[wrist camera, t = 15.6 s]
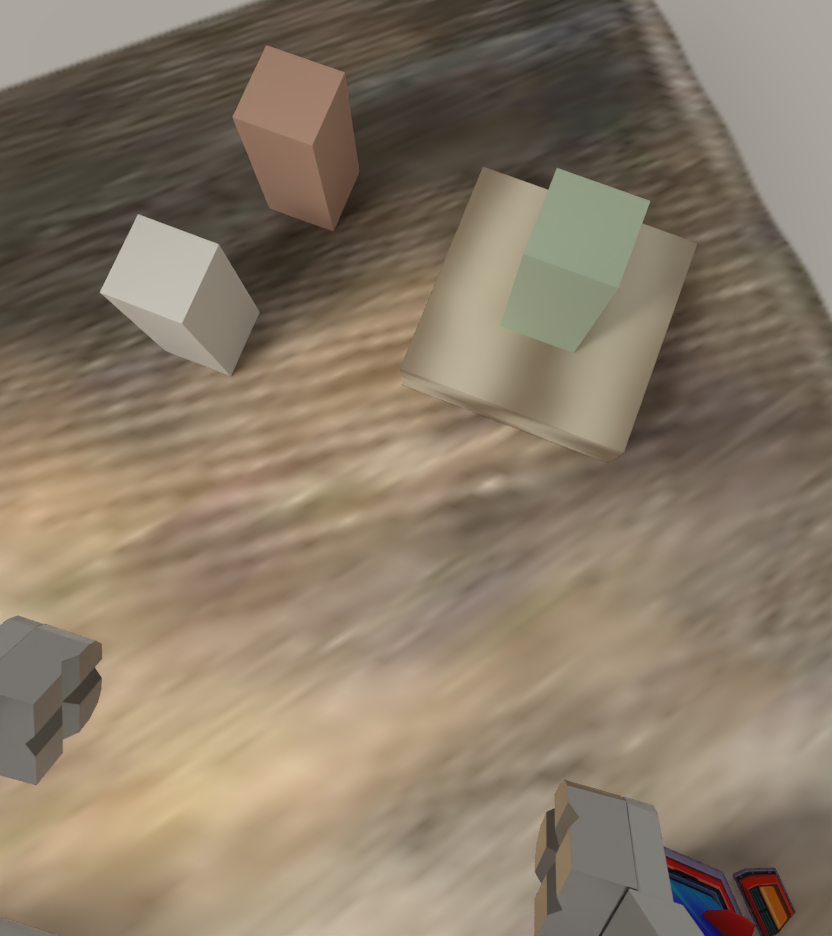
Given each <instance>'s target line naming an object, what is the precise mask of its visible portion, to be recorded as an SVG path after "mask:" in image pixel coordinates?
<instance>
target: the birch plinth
mask: <svg viewBox="0 0 832 936" xmlns="http://www.w3.org/2000/svg"><path fill="white" fill-rule="evenodd" d="M547 192H548V190H547V189H544V188H542V187H539V186H536V185H533V184H530V183H527V182H525V181H522V180H519V179H516V178H513V177H511V176H508V175H505V174H502V173H499V172H497V171H494V170H491V169H488V168H485V167H483V168H482V170H481V173H480V175H479V178H478V180H477V183H476V185H475V188H474V190H473V192H472V195H471V197H470V200H469V202H468V205H467V207H466V209H465V212H464V214H463V217H462V219H461V222H460V224H459V226H458V229H457V231H456V234H455V236H454V239H453V241H452V243H451V246H450V248H449V251H448V253H447V256H446V258H445V260H444V263H443V265H442V268H441V270H440V273H439V275H438V278H437V280H436V282H435V285H434V287H433V290H432V292H431V295H430V297H429V299H428V302H427V304H426V307H425V309H424V312H423V314H422V316H421V319H420V321H419V324H418V326H417V329H416V331H415V333H414V336H413V338H412V341H411V343H410V346H409V348H408V351H407V353H406V355H405V358H404V360H403V363H402V365H401V368H400V372H401V383H402V385H404V386H407V387H409V388H412V389H414V390H417V391H420V392H422V393H425V394H428V395H430V396H433V397H435V398H438V399H441V400H443V401H446V402H449V403H451V404H454V405H457V406H459V407H462V408H464V409H467V410H470V411H472V412H475V413H478V414H480V415H483V416H485V417H488V418H491V419H493V420H496V421H499V422H501V423H504V424H506V425H509V426H512V427H514V428H517V429H520V430H522V431H525V432H527V433H530V434H533V435H535V436H538V437H541V438H543V439H546V440H549V441H551V442H554V443H556V444H559V445H562V446H564V447H567V448H570V449H572V450H575V451H577V452H580V453H583V454H585V455H588V456H591V457H593V458H596V459H598V460H601V461H604V462H606V463H608V462H610V461H611V460H613V459H615V458H616V457H618V456H620V455H621V454H623V453H624V451H625V448H626V445H627V442H628V439H629V437H630V434H631V431H632V428H633V425H634V422H635V420H636V417H637V414H638V411H639V408H640V405H641V403H642V400H643V397H644V394H645V391H646V388H647V385H648V383H649V380H650V377H651V374H652V371H653V368H654V366H655V363H656V360H657V357H658V354H659V351H660V349H661V346H662V343H663V340H664V337H665V334H666V332H667V329H668V326H669V323H670V320H671V317H672V315H673V312H674V309H675V306H676V303H677V300H678V297H679V295H680V292H681V289H682V286H683V283H684V280H685V278H686V275H687V272H688V269H689V266H690V263H691V261H692V258H693V255H694V252H695V249H696V246H697V244H698V243H696V242H693V241H690V240H687V239H685V238H682V237H679V236H676V235H673V234H671V233H668V232H665V231H662V230H659V229H657V228H654V227H651V226H648V225H645V224H643V223H642V225H641V228H640V231H639V233H638V236H637V239H636V242H635V244H634V247H633V250H632V253H631V255H630V258H629V261H628V264H627V266H626V269H625V272H624V274H623V277H622V280H621V283H620V285H619V288H618V290H617V291H616V293H615V294H614V295H613V297H612V298H611V300H610V301H609V303H608V304H607V306H606V307H605V308H604V310H603V311H602V313H601V314H600V316H599V317H598V319H597V320H596V322H595V323H594V324H593V326H592V327H591V329H590V330H589V332H588V333H587V335H586V336H585V337H584V339H583V340H582V342H581V343H580V345H579V346H578V348H577V349H576V350H575V352H574V353H572V352H569V351H566V350H564V349H561V348H558V347H555V346H553V345H550V344H547V343H545V342H542V341H539V340H536V339H534V338H531V337H528V336H526V335H523V334H520V333H518V332H515V331H512V330H509V329H507V328H504V327H501V326H500V325H501V322H502V319H503V315H504V312H505V309H506V306H507V303H508V300H509V297H510V294H511V291H512V287H513V284H514V281H515V278H516V275H517V272H518V269H519V266H520V263H521V260H522V256H523V253H524V251H525V248H526V246H527V243H528V241H529V238H530V236H531V233H532V230H533V228H534V225H535V223H536V220H537V218H538V215H539V213H540V210H541V207H542V205H543V202H544V200H545V197H546V195H547Z"/></svg>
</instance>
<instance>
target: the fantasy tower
mask: <svg viewBox="0 0 832 936" xmlns="http://www.w3.org/2000/svg"><path fill="white" fill-rule="evenodd" d="M664 852H665V857H666V863H667V868H668V874H669V879H670V885H671V890H672V896H673V901H674V902H675V903H678V904H681V905H683V906H684V907H685V909H686V910H687V912H688V913H689V914H690V916H691V917H692V919H693V920H694V921H695V923H696V924H697V926H698V927H699V929H700V930H701V931H702V933H703V934H704V936H752V934H753V931H754V928H755V925H754V924H753V923H752V922H750V921H749V920H748V919H747V918H745V917H744V916H742V913H741V911H740V909H739V907H738V905H737V902H736V900H735V898H734V896H733V894H732V891H731V889H730V887H729V885H728V883H727V880H726V878H725V876H724V874H723V872H722V871H720V870H717V869H715V868H713V867H710V866H708V865H706V864H703V863H701V862H699V861H696V860H694V859H692V858H689V857H687V856H685V855H682V854H680V853H678V852H675V851H673V850H671V849H668V848H666V847H664ZM733 876H734V878H735V880H736V883H737V885H738V887H739V889H740V891H741V894H742V896H743V898H744V900H745V902H746V905H747V907H748V909H749V911H750V913H751V916H752V918H753V920H754V922H755V924H756V926H757V929H758V931H759V933H760V935H761V936H775V935H776V934H778V933H779V931H780V930H781V929H782V927H783V926H784V925H785V924H786V923H787V921H788V920H789V919H790V918H791V917H792V916H793V915H794V914H795V912H796V911H795V909H794V907H793V905H792V903H791V901H790V899H789V897H788V894H787V892H786V890H785V888H784V886H783V884H782V882H781V879H780V877H779V875H778V873H777V871H776V869H775V868H756V869H743V870H741V871H739V872H737V873H734V874H733Z"/></svg>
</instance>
